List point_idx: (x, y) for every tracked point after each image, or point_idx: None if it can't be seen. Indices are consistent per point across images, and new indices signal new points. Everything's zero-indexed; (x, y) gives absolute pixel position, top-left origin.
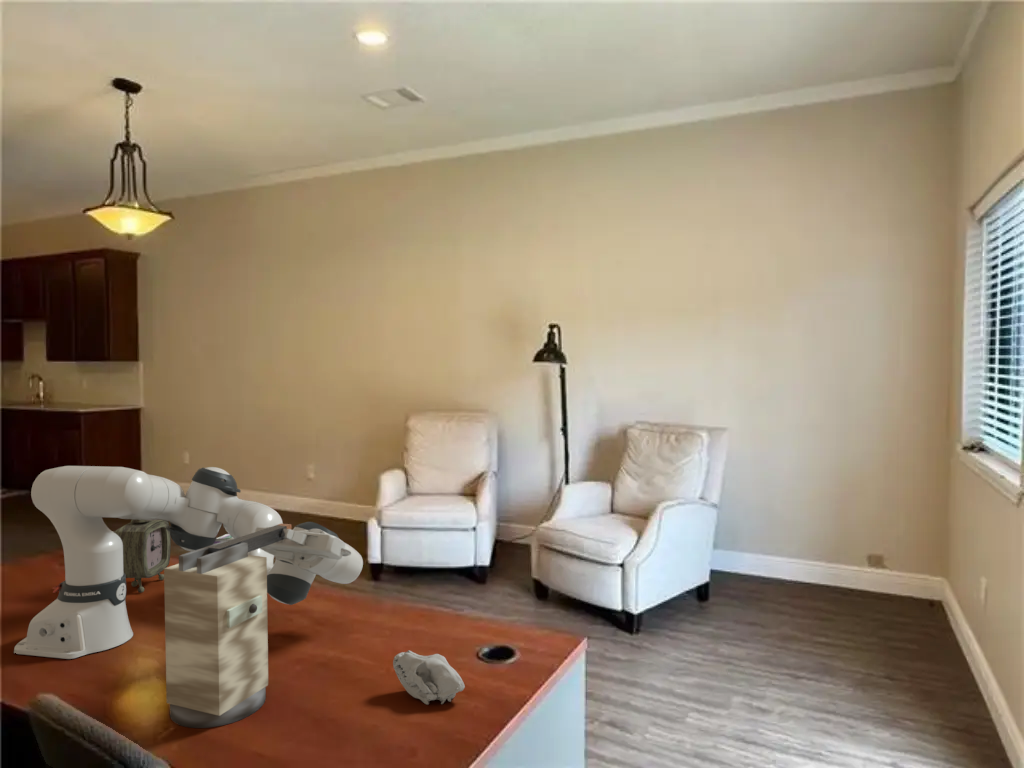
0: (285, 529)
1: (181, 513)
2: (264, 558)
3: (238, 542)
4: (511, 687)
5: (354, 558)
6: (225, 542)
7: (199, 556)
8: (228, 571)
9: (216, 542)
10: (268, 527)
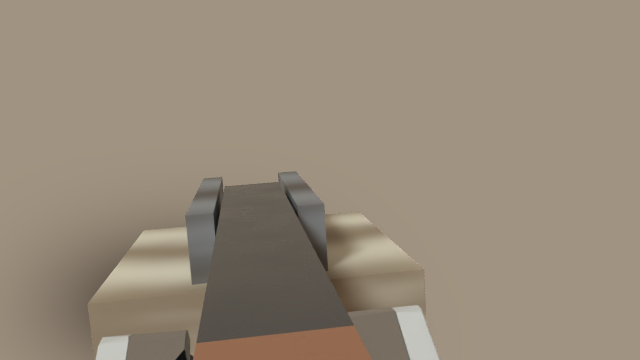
0: (155, 333)
1: None
2: (91, 300)
3: (222, 203)
4: None
5: None
6: (277, 194)
7: None
8: (138, 241)
9: None
10: (390, 307)
